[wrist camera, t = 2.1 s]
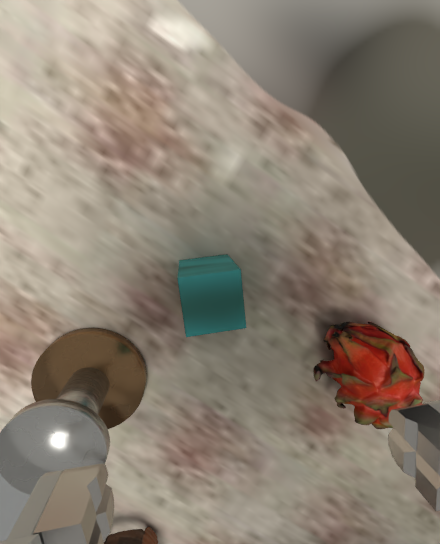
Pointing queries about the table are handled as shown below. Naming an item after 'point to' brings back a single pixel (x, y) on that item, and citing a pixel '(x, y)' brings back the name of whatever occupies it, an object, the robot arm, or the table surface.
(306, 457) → the table surface
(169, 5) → the table surface
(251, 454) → the table surface
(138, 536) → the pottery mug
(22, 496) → the notched board
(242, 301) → the block
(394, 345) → the dragon fruit
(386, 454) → the table surface
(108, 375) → the bobbin post
